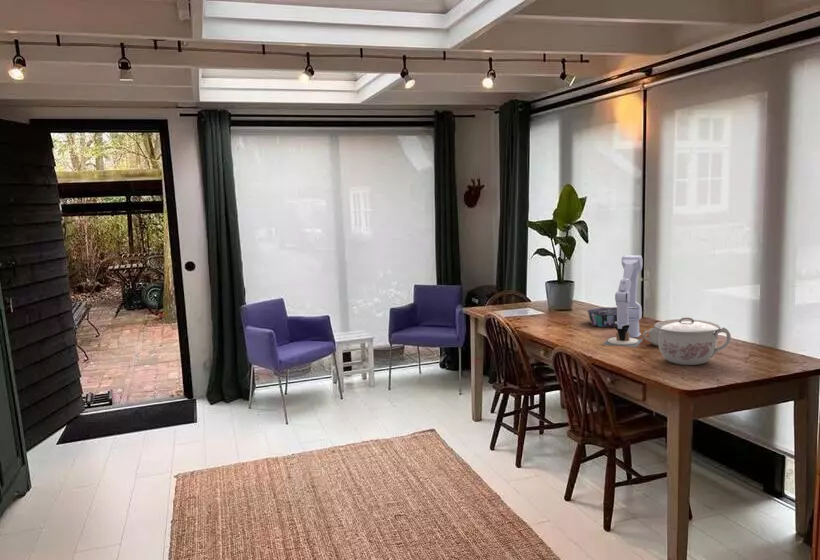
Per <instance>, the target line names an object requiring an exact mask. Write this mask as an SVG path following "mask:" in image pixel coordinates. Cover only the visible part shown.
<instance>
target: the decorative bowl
mask: <svg viewBox="0 0 820 560" xmlns="http://www.w3.org/2000/svg"><path fill="white" fill-rule="evenodd" d="M586 313H587V314H588V317H589V320H590V322H591V324H592V326H594V327H599V328H616V327H618V325H617V324H615V322H617V306H615V307H614V306H613V307H609V306H607V307H597V308H595V307H594V308H590V309H588V310H586Z"/></svg>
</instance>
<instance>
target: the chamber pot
mask: <svg viewBox="0 0 820 560" xmlns="http://www.w3.org/2000/svg"><path fill="white" fill-rule="evenodd" d="M653 326H654V327H653V328H657V329H659V330H660V332H659V333H658V335H657V341H658V345H659V346H658V349H659V351H660V353H661V354H662V356H663V358H664V359H665V360H666V361H668V362H670V363H673V364H676V365H679V364H680V365H679V366H698V365H702V364H705V363H707V362H708V361H709V360H710V359H711V358H713V357H714V356H715V354H717V353H718V352H719V351H722V350H723V349H725V348H726V347H727V346H728V345H729V344H731V340H732V338H731V337H732V336H731V333H730V331H729V330H728V329H727V328H725V327H722V328H721V326H720V325H719V324H717V323H715V322H712V321H711V322H710V321H706V320H699V319H693V318H692V317H688V316H684V317H681V318H680V319H679V318H677V319H666V320H661V321H658V322H656V323H654V324H653ZM720 333H723V334H725V335H726V339H725V340H726V341H725V342H723V344H722V345H720V346H717V343H718V339H719V337H718V336H719V335H718V334H720ZM716 346H717V347H716Z"/></svg>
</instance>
